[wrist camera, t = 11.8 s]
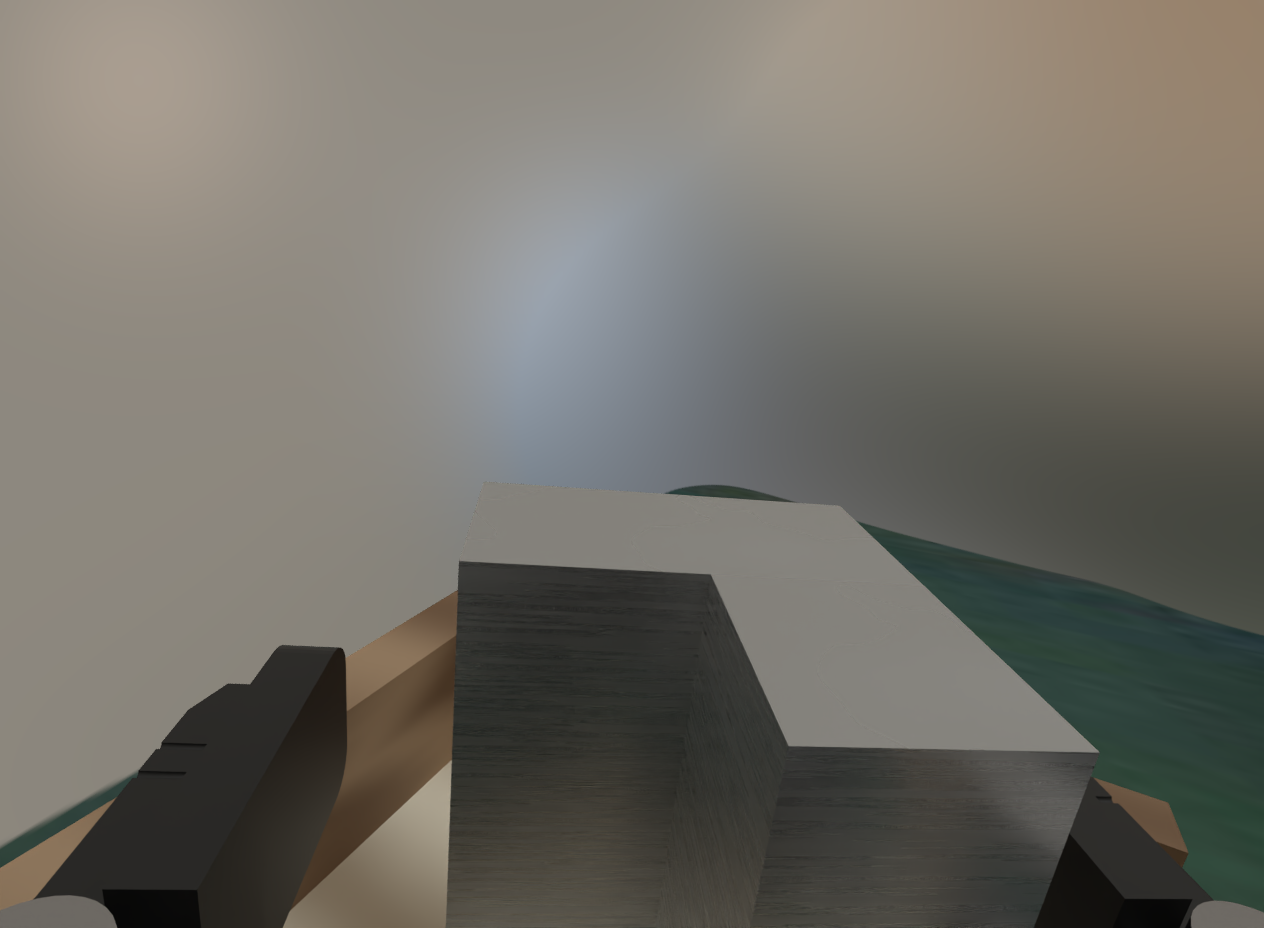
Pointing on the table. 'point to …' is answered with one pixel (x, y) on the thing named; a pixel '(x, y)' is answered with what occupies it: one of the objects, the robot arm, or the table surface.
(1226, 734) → the table surface
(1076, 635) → the table surface
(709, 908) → the bracket
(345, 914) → the wooden tray
